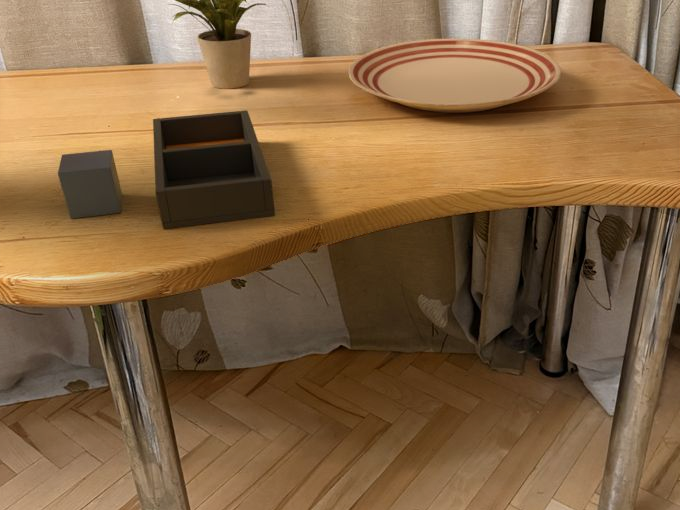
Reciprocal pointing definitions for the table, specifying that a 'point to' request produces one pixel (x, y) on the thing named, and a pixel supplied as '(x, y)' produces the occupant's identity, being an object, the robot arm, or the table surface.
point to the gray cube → (90, 184)
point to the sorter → (210, 170)
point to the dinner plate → (455, 74)
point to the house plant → (223, 41)
